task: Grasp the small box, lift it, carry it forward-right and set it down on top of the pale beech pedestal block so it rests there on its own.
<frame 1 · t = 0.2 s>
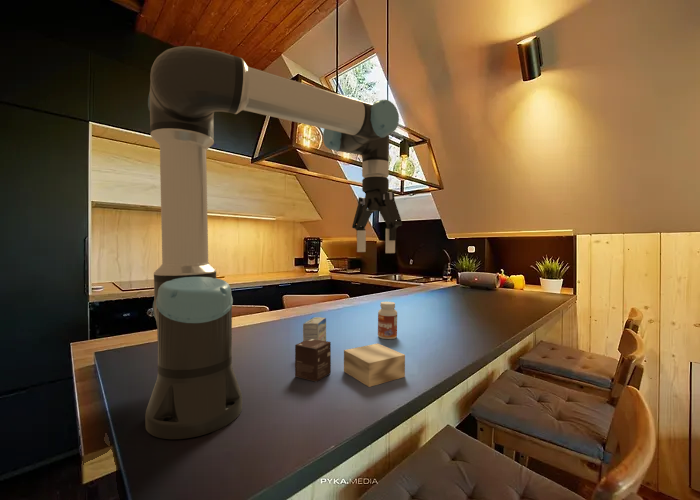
hand: (374, 252, 94), 27 cm above the countertop, fingers open, 13 cm apart
medicine box: (315, 351, 92), on the countertop
box: (313, 376, 75), on the countertop
pill bottle: (387, 337, 106), on the countertop
beech block: (373, 374, 76), on the countertop
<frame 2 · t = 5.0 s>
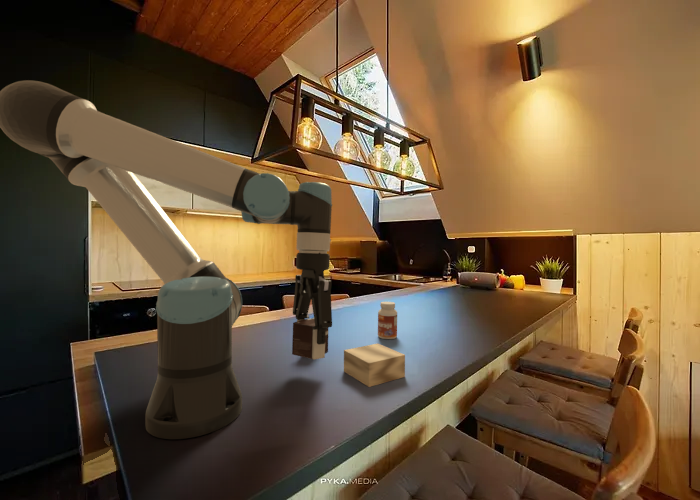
hand: (309, 352, 75), 5 cm above the countertop, fingers closed on box, 8 cm apart
box: (310, 354, 75), point 5 cm above the countertop, touching gripper
everything else where it was.
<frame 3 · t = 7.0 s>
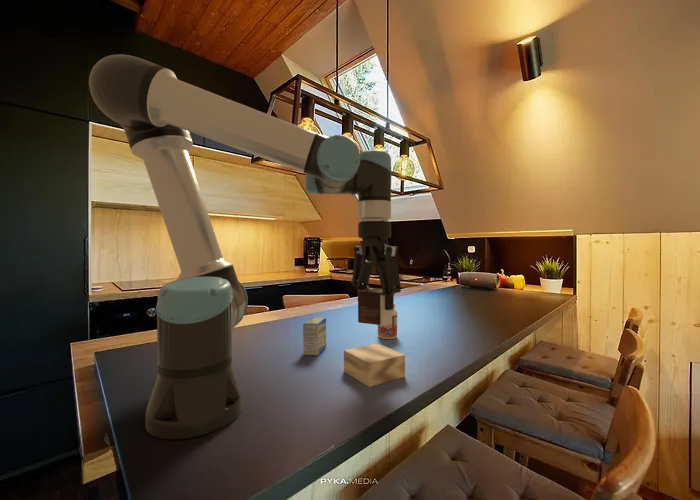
hand: (374, 320, 75), 12 cm above the countertop, fingers closed on box, 8 cm apart
box: (375, 322, 75), point 12 cm above the countertop, touching gripper
everything else where it was.
when the fingers open (6 cm above the countertop, at t = 8.9 s): box stays where it is, resting on beech block.
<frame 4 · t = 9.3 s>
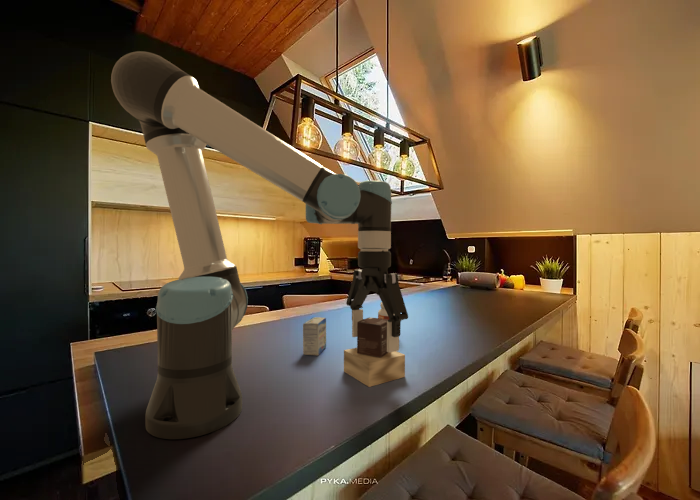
hand: (373, 343, 75), 7 cm above the countertop, fingers open, 13 cm apart
box: (374, 353, 76), point 5 cm above the countertop, touching beech block
everything else where it was.
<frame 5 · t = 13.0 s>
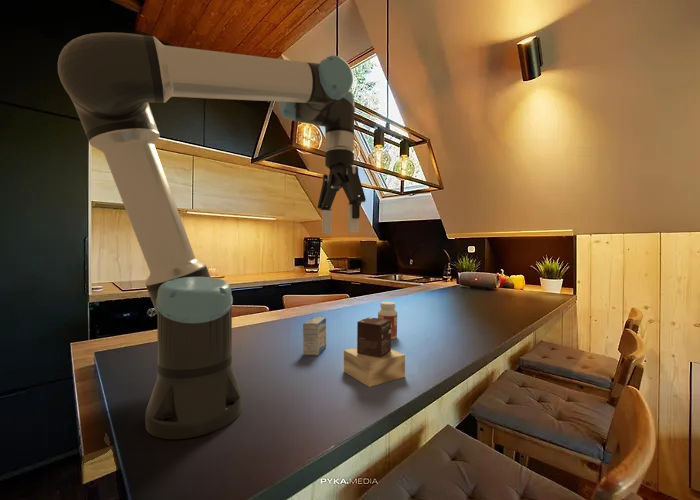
hand: (339, 233, 86), 33 cm above the countertop, fingers open, 13 cm apart
nothing on the countertop moved.
at the end: box inside the target area on the beech block (0.1 cm from its centre), point 4.8 cm above the beech block's base; box tilted 0°; the gripper is holding nothing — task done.
